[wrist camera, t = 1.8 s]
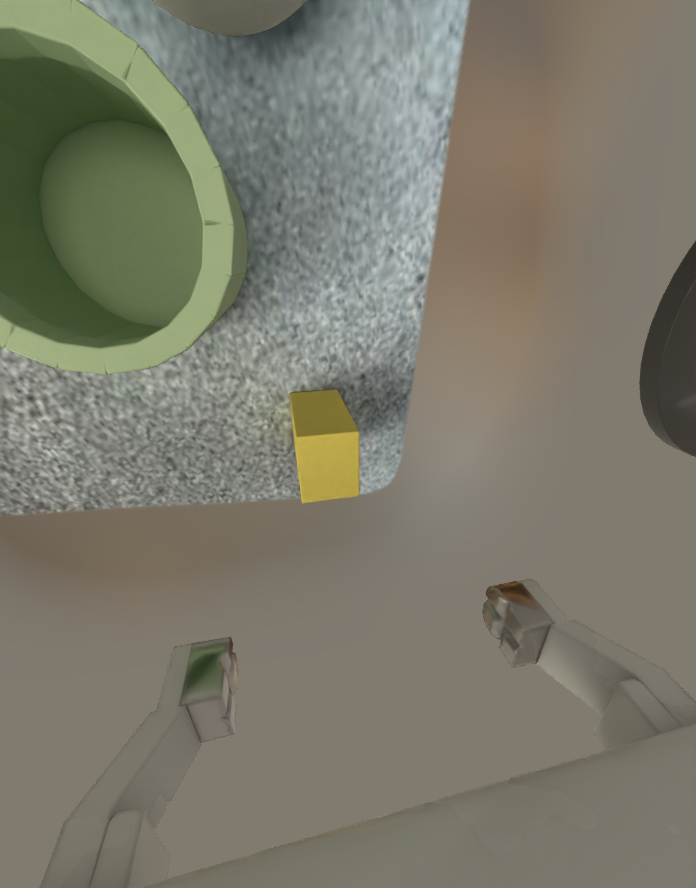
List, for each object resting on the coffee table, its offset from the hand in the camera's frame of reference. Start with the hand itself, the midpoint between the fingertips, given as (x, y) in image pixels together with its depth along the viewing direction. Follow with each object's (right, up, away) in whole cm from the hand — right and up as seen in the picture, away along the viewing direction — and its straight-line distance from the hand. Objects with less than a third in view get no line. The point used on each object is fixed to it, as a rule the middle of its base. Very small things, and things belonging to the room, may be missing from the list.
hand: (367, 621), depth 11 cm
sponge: (-3, +7, +14) cm, 16 cm away
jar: (-11, +16, +7) cm, 21 cm away
